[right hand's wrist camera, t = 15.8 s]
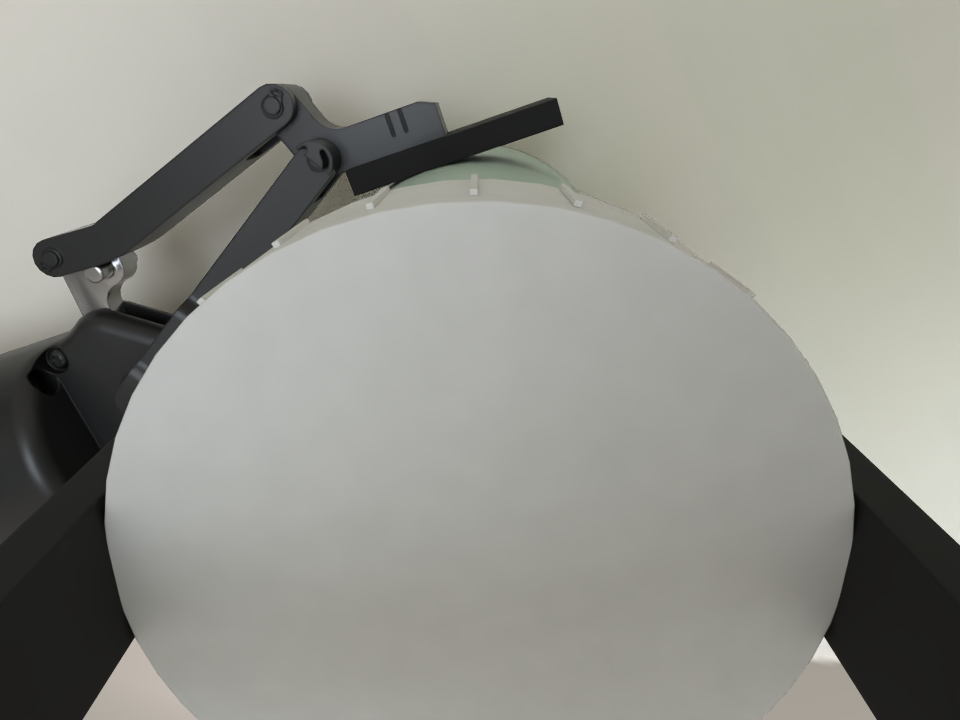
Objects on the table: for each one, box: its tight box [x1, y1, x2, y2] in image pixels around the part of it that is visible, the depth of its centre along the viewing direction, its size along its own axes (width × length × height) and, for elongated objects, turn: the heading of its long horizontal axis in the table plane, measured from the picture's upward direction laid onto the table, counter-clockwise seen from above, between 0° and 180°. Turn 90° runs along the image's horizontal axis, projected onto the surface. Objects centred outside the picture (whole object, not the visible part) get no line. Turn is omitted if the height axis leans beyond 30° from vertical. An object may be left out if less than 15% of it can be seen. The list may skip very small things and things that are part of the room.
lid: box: [104, 174, 855, 720], centre depth 12 cm, size 12×12×2 cm
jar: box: [389, 146, 578, 193], centre depth 20 cm, size 10×10×19 cm
